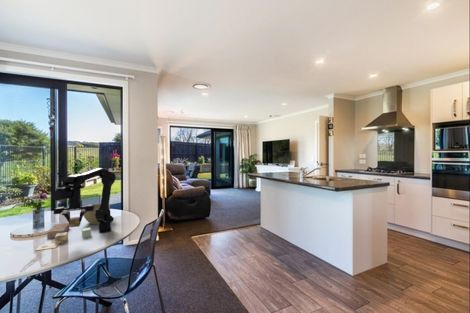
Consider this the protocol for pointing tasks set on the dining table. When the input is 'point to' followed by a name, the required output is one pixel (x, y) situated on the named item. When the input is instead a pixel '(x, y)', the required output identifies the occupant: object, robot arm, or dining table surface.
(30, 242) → the dining table surface
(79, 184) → the robot arm
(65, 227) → the brown rock
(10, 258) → the dining table surface
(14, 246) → the dining table surface
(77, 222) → the walnut block
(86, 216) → the tan bowl
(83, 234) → the block
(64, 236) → the oak block
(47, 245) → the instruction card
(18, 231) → the dining table surface
